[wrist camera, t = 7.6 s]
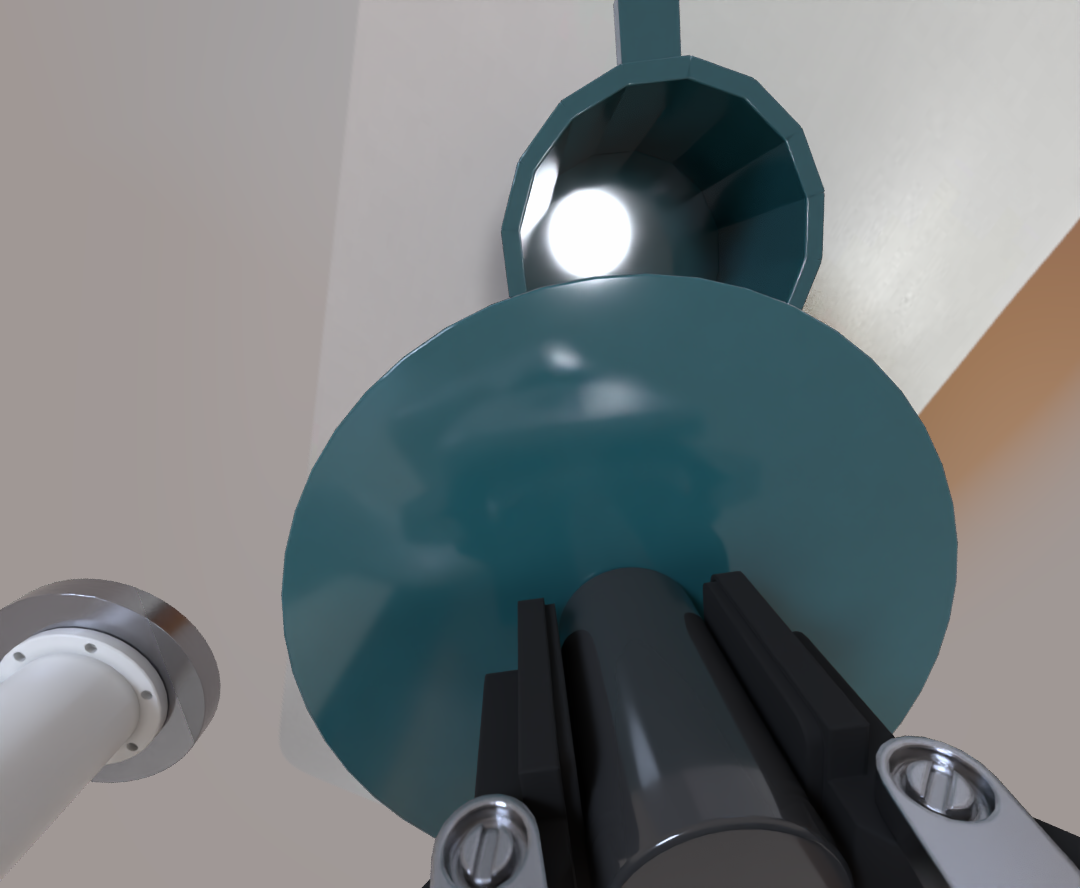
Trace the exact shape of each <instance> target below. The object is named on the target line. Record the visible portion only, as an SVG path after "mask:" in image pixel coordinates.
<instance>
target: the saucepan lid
mask: <svg viewBox="0 0 1080 888" xmlns="http://www.w3.org/2000/svg"><path fill="white" fill-rule="evenodd" d="M955 525H956V524H955V515H954V507H953V502H952V498H951V494H950V490H949V487H948V483H947V480H946V476H945V472H944V469H943V465H942V463H941V461H940V458H939V456H938V454H937V452H936V449H935V448H934V445H933V443H932V441H931V439H930V436H929V434H928V432H927V430H926V427H925V426H924V424H923V423H922V421H921V420H920V418H919V417H918V415H917V414H916V412H915V411H914V409H913V408H912V406H911V405H910V403H909V402H908V400H907V399H906V397H905V396H904V394H903V393H902V391H901V390H900V389H899V388H898V387H897V386H896V385H895V383H894V382H893V381H892V380H891V379H890V378H889V377H888V376H887V375H886V374H885V373H884V371H883V370H882V369H881V368H880V367H879V366H878V365H877V364H876V363H875V362H874V361H873V360H872V358H871V357H869V356H868V355H867V354H865V353H864V352H863V351H862V350H860V349H859V348H858V347H857V346H855V345H854V344H853V343H852V342H850V341H849V340H848V339H847V338H845V337H844V336H843V335H841V334H840V333H839V332H838V331H836V330H835V329H833V328H832V327H830V326H828V325H826V324H825V323H823V322H821V321H819V320H818V319H816V318H814V317H812V316H811V315H809V314H807V313H805V312H804V311H802V310H800V309H798V308H796V307H795V306H793V305H790V304H787V303H785V302H782V301H779V300H777V299H774V298H772V297H769V296H766V295H764V294H761V293H759V292H756V291H753V290H751V289H748V288H744V287H740V286H735V285H731V284H726V283H722V282H717V281H713V280H708V279H704V278H699V277H688V276H676V275H663V274H650V273H642V274H626V275H609V276H594V277H589V278H584V279H579V280H574V281H569V282H564V283H559V284H554V285H549V286H544V287H540V288H537V289H534V290H532V291H529V292H526V293H523V294H520V295H517V296H514V297H511V298H508V299H506V300H503V301H500V302H497V303H494V304H491V305H489V306H487V307H486V308H484V309H482V310H480V311H478V312H476V313H474V314H472V315H470V316H468V317H466V318H464V319H462V320H460V321H458V322H456V323H454V324H452V325H450V326H448V327H446V328H444V329H443V330H442V331H440V332H439V333H437V334H436V335H434V336H433V337H432V338H430V339H429V340H427V341H426V342H424V343H423V344H421V345H420V346H419V347H417V348H416V349H414V350H413V351H411V352H410V353H409V354H407V355H406V356H404V357H403V358H402V359H401V360H400V361H398V362H397V363H396V364H395V365H394V366H393V367H392V368H391V369H390V370H389V371H388V372H387V373H386V374H384V375H383V376H382V377H381V378H380V379H379V380H378V381H377V382H376V383H375V384H374V385H373V386H372V387H370V388H369V389H368V390H367V391H366V392H365V394H364V395H363V396H362V397H361V398H360V400H359V401H358V402H357V403H356V405H355V406H354V407H353V408H352V410H351V411H350V412H349V413H348V415H347V416H346V417H345V418H344V419H343V421H342V422H341V423H340V424H339V426H338V427H337V428H336V429H335V431H334V433H333V434H332V436H331V438H330V440H329V441H328V443H327V445H326V446H325V448H324V450H323V451H322V453H321V455H320V456H319V458H318V460H317V461H316V463H315V465H314V466H313V468H312V470H311V473H310V475H309V478H308V480H307V482H306V485H305V487H304V490H303V492H302V495H301V497H300V500H299V502H298V505H297V507H296V510H295V513H294V517H293V521H292V526H291V529H290V534H289V538H288V542H287V546H286V550H285V559H284V570H283V582H282V595H281V596H282V610H283V625H284V636H285V640H286V645H287V649H288V654H289V659H290V663H291V668H292V672H293V675H294V678H295V680H296V683H297V685H298V688H299V691H300V693H301V696H302V698H303V701H304V703H305V706H306V709H307V710H308V712H309V714H310V716H311V718H312V719H313V721H314V723H315V725H316V726H317V728H318V730H319V732H320V733H321V735H322V737H323V739H324V741H325V742H326V743H327V745H328V746H329V747H330V749H331V750H332V751H333V753H334V754H335V755H336V756H337V758H338V759H339V760H340V762H341V763H342V764H343V766H344V767H345V768H346V770H347V771H348V772H349V773H350V774H351V775H352V776H353V777H354V778H355V779H356V780H357V781H358V782H359V783H360V784H361V785H362V786H363V787H364V788H365V789H366V790H367V791H368V792H369V793H370V794H371V795H372V796H373V797H374V798H376V799H377V800H378V801H380V802H381V803H382V804H383V805H385V806H386V807H387V808H389V809H390V810H391V811H393V812H394V813H395V814H396V815H398V816H399V817H400V818H402V819H403V820H405V821H407V822H408V823H410V824H411V825H413V826H415V827H416V828H418V829H420V830H421V831H423V832H425V833H427V834H428V835H430V836H432V837H433V838H435V839H436V837H437V835H438V833H439V831H440V829H441V827H442V825H443V824H444V822H445V821H446V820H447V819H448V818H449V817H450V815H451V814H452V813H453V812H454V811H455V810H456V809H458V808H459V807H460V806H462V805H463V804H465V803H466V802H468V801H469V800H472V799H474V796H475V785H476V773H477V761H478V749H479V737H480V725H481V714H482V702H483V690H484V680H485V676H486V674H490V673H497V672H504V671H511V670H518V601H522V600H530V599H537V598H544V603H545V605H547V604H554V603H555V609H556V616H557V623H558V631H559V638H560V646H561V653H562V661H563V669H564V676H565V684H566V692H567V699H568V707H569V715H570V722H571V730H572V738H573V745H574V753H575V761H576V768H577V776H578V784H579V791H580V799H581V807H582V814H583V822H584V830H585V837H586V838H585V846H586V857H587V865H588V873H589V881H590V888H855V886H854V881H853V877H852V873H851V870H850V868H849V866H848V863H847V861H846V860H845V858H844V856H843V854H842V853H841V851H840V849H839V848H838V846H837V844H836V843H835V841H834V839H833V838H832V836H831V834H830V833H829V831H828V829H827V828H826V826H825V824H824V822H823V821H822V819H821V817H820V816H819V814H818V812H817V811H816V809H815V807H814V806H813V804H812V802H811V801H810V799H809V797H808V796H807V794H806V792H805V790H804V789H803V787H802V785H801V784H800V782H799V780H798V779H797V777H796V775H795V774H794V772H793V770H792V769H791V767H790V765H789V764H788V762H787V760H786V758H785V757H784V755H783V753H782V752H781V750H780V748H779V747H778V745H777V743H776V742H775V740H774V738H773V737H772V735H771V733H770V732H769V730H768V728H767V726H766V725H765V723H764V721H763V720H762V718H761V716H760V715H759V713H758V711H757V710H756V708H755V706H754V705H753V703H752V701H751V699H750V698H749V696H748V694H747V693H746V691H745V689H744V688H743V686H742V684H741V683H740V681H739V679H738V678H737V676H736V674H735V673H734V671H733V669H732V667H731V666H730V664H729V662H728V661H727V659H726V657H725V656H724V654H723V652H722V651H721V649H720V647H719V646H718V644H717V642H716V641H715V639H714V637H713V635H712V634H711V632H710V630H709V629H708V627H707V625H706V624H705V622H704V608H703V584H704V583H707V582H710V580H711V576H712V575H713V574H720V573H727V572H734V571H741V572H742V573H743V574H744V575H745V576H746V577H747V579H748V580H749V581H750V582H751V583H752V585H753V586H754V587H755V588H756V589H757V590H758V592H759V593H760V594H761V595H762V596H763V598H764V599H765V600H766V601H767V602H768V604H769V605H770V606H771V607H772V608H773V609H774V611H775V612H776V613H777V614H778V615H779V617H780V618H781V619H782V620H783V621H784V623H785V624H786V625H787V626H788V627H789V628H790V630H791V631H792V632H794V631H799V632H802V633H803V634H804V635H805V636H807V637H808V638H809V639H810V641H811V642H812V643H813V644H814V645H815V646H816V647H817V649H818V650H819V651H820V652H821V653H822V654H823V655H824V657H825V658H826V659H827V660H828V661H829V662H830V663H831V665H832V666H833V667H834V668H835V669H836V670H837V672H838V673H839V674H840V675H841V676H842V677H843V678H844V680H845V681H846V682H847V683H848V684H849V685H850V686H851V688H852V689H853V690H854V691H855V692H856V693H857V694H858V696H859V697H860V698H861V699H862V700H863V701H864V702H865V704H866V705H867V706H868V707H869V708H870V709H871V710H872V712H873V713H874V714H875V715H876V716H877V717H878V718H879V720H880V721H881V722H882V723H883V724H884V725H885V726H886V728H887V729H888V730H889V731H890V732H891V733H892V734H893V733H894V732H895V730H896V729H897V728H898V727H899V725H900V724H901V723H902V721H903V720H904V718H905V716H906V715H907V713H908V712H909V710H910V709H911V707H912V705H913V704H914V702H915V701H916V699H917V697H918V696H919V694H920V693H921V691H922V689H923V687H924V685H925V683H926V681H927V678H928V676H929V674H930V672H931V670H932V668H933V666H934V664H935V661H936V659H937V657H938V655H939V651H940V648H941V645H942V642H943V639H944V636H945V632H946V630H947V626H948V623H949V620H950V615H951V609H952V604H953V598H954V592H955V587H956V578H957V575H956V574H957V548H958V541H957V533H956V526H955Z"/></svg>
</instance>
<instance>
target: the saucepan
mask: <svg viewBox="0 0 1080 888" xmlns="http://www.w3.org/2000/svg"><path fill="white" fill-rule="evenodd" d="M613 8H614V24H615V40H616V56H617V66H616V67H615V68H613V69H611V70H610V71H608V72H606V73H605V74H603V75H602V76H600V77H598V78H597V79H595V80H594V81H592V82H590V83H589V84H587V85H586V86H584V87H582V88H581V89H579V90H577V91H576V92H574V93H573V94H571V95H569V96H568V97H566V98H565V99H563V100H561V103H559V104H558V105H557V107H556V108H555V109H554V111H553V112H552V114H551V115H550V117H549V118H548V119H547V121H546V122H545V124H544V125H543V126H542V128H541V129H540V131H539V132H538V133H537V135H536V136H535V138H534V139H533V141H532V142H531V143H530V145H529V146H528V148H527V149H526V150H525V152H524V153H523V155H522V156H521V157H520V159H519V162H518V163H517V167H516V171H515V175H514V179H513V183H512V187H511V191H510V195H509V199H508V203H507V207H506V211H505V215H504V219H503V223H502V228H501V236H502V244H503V252H504V260H505V268H506V276H507V283H508V291H509V297H510V298H511V297H514V296H517V295H520V294H523V293H526V292H529V291H532V290H534V289H537V288H540V287H544V286H549V285H554V284H559V283H564V282H569V281H574V280H579V279H584V278H589V277H594V276H609V275H626V274H642V273H650V274H663V275H676V276H688V277H699V278H704V279H708V280H713V281H717V282H722V283H726V284H731V285H735V286H740V287H744V288H748V289H751V290H753V291H756V292H759V293H761V294H764V295H766V296H769V297H772V298H774V299H777V300H779V301H782V302H785V303H787V304H790V305H793V306H795V307H796V308H798V309H800V310H802V308H803V306H804V304H805V301H806V299H807V296H808V294H809V291H810V289H811V286H812V284H813V281H814V279H815V276H816V274H817V271H818V269H819V267H820V264H821V259H822V251H823V222H824V193H823V192H824V191H825V190H824V187H823V185H822V182H821V179H820V176H819V174H818V171H817V168H816V165H815V162H814V160H813V157H812V154H811V151H810V148H809V146H808V143H807V140H806V137H805V134H804V132H803V129H802V128H801V126H800V125H799V124H798V123H797V122H796V121H795V120H794V119H793V118H792V117H791V116H790V115H789V114H788V113H787V111H786V110H785V109H784V108H783V107H782V106H781V105H780V104H779V103H778V102H777V101H776V100H775V99H774V98H773V97H772V96H771V95H770V94H769V93H768V92H767V91H766V90H765V89H764V88H763V86H762V85H761V84H760V83H759V82H758V81H757V80H755V79H754V78H752V77H750V76H747V75H744V74H741V73H739V72H736V71H733V70H730V69H728V68H725V67H722V66H719V65H717V64H714V63H711V62H708V61H706V60H703V59H700V58H697V57H694V56H690V55H687V56H681V40H680V10H679V0H615V1H614V4H613Z"/></svg>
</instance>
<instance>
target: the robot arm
mask: <svg viewBox="0 0 1080 888" xmlns="http://www.w3.org/2000/svg"><path fill="white" fill-rule="evenodd" d="M703 608H704V622H705V624H706V625H707V627H708V629H709V630H710V632H711V634H712V635H713V637H714V639H715V641H716V642H717V644H718V646H719V647H720V649H721V651H722V652H723V654H724V656H725V657H726V659H727V661H728V662H729V664H730V666H731V667H732V669H733V671H734V673H735V674H736V676H737V678H738V679H739V681H740V683H741V684H742V686H743V688H744V689H745V691H746V693H747V694H748V696H749V698H750V699H751V701H752V703H753V705H754V706H755V708H756V710H757V711H758V713H759V715H760V716H761V718H762V720H763V721H764V723H765V725H766V726H767V728H768V730H769V732H770V733H771V735H772V737H773V738H774V740H775V742H776V743H777V745H778V747H779V748H780V750H781V752H782V753H783V755H784V757H785V758H786V760H787V762H788V764H789V765H790V767H791V769H792V770H793V772H794V774H795V775H796V777H797V779H798V780H799V782H800V784H801V785H802V787H803V789H804V790H805V792H806V794H807V796H808V797H809V799H810V801H811V802H812V804H813V806H814V807H815V809H816V811H817V812H818V814H819V816H820V817H821V819H822V821H823V822H824V824H825V826H826V828H827V829H828V831H829V833H830V834H831V836H832V838H833V839H834V841H835V843H836V844H837V846H838V848H839V849H840V851H841V853H842V854H843V856H844V858H845V860H846V861H847V863H848V866H849V868H850V870H851V873H852V877H853V881H854V886H855V888H1080V837H1078V836H1076V835H1074V834H1071V833H1069V832H1067V831H1064V830H1062V829H1060V828H1057V827H1055V826H1052V825H1050V824H1048V823H1045V822H1043V821H1041V820H1038V819H1036V818H1033V817H1032V816H1031V815H1030V814H1029V813H1028V812H1027V811H1026V809H1025V808H1024V807H1023V806H1022V805H1021V804H1020V803H1019V802H1018V800H1017V799H1016V798H1015V797H1014V796H1013V795H1012V794H1011V793H1010V791H1009V790H1008V789H1007V788H1006V787H1005V786H1004V785H1003V784H1002V782H1000V780H999V779H998V778H997V777H996V776H995V775H994V774H993V773H992V772H991V771H989V770H988V769H987V768H986V767H985V766H984V765H983V764H982V763H981V762H979V761H978V760H976V759H974V758H973V757H971V756H970V755H968V754H967V753H965V752H963V751H962V750H960V749H957V748H955V747H953V746H950V745H948V744H946V743H944V742H941V741H937V740H933V739H929V738H926V737H918V736H902V737H896V738H895V737H894V736H893V734H892V733H891V732H890V731H889V730H888V729H887V728H886V726H885V725H884V724H883V723H882V722H881V721H880V720H879V718H878V717H877V716H876V715H875V714H874V713H873V712H872V710H871V709H870V708H869V707H868V706H867V705H866V704H865V702H864V701H863V700H862V699H861V698H860V697H859V696H858V694H857V693H856V692H855V691H854V690H853V689H852V688H851V686H850V685H849V684H848V683H847V682H846V681H845V680H844V678H843V677H842V676H841V675H840V674H839V673H838V672H837V670H836V669H835V668H834V667H833V666H832V665H831V663H830V662H829V661H828V660H827V659H826V658H825V657H824V655H823V654H822V653H821V652H820V651H819V650H818V649H817V647H816V646H815V645H814V644H813V643H812V642H811V641H810V639H809V638H808V637H807V636H805V635H804V634H803V633H802V632H799V631H794V632H792V631H791V630H790V628H789V627H788V626H787V625H786V624H785V623H784V621H783V620H782V619H781V618H780V617H779V615H778V614H777V613H776V612H775V611H774V609H773V608H772V607H771V606H770V605H769V604H768V602H767V601H766V600H765V599H764V598H763V596H762V595H761V594H760V593H759V592H758V590H757V589H756V588H755V587H754V586H753V585H752V583H751V582H750V581H749V580H748V579H747V577H746V576H745V575H744V574H743V573H742V572H741V571H734V572H727V573H720V574H713V575H712V576H711V580H710V582H707V583H704V584H703ZM167 710H168V700H167V693H166V690H165V687H164V684H163V682H162V680H161V678H160V676H159V674H158V673H157V671H156V669H155V668H154V667H153V666H152V665H151V663H150V662H149V661H148V660H147V659H146V658H145V657H144V656H143V655H141V654H140V653H139V652H138V651H137V650H136V649H134V648H133V647H131V646H129V645H128V644H126V643H125V642H123V641H121V640H119V639H117V638H114V637H112V636H110V635H108V634H104V633H101V632H97V631H93V630H89V629H81V628H57V629H52V630H47V631H43V632H40V633H38V634H36V635H33V636H31V637H29V638H28V639H26V640H25V641H23V642H22V643H20V644H19V645H17V646H15V647H14V648H13V649H12V650H11V651H10V652H9V653H7V654H6V655H5V656H4V658H3V659H2V661H1V662H0V881H1V880H2V879H3V878H4V877H5V875H6V874H7V873H8V872H9V871H10V869H12V867H13V866H14V865H15V864H16V863H17V862H18V861H19V860H20V859H21V858H22V856H23V855H24V854H25V853H26V852H27V851H28V850H29V849H30V848H31V846H32V845H33V844H34V843H35V842H36V841H37V840H38V839H39V838H40V836H41V835H42V834H43V833H44V832H45V831H46V830H47V829H48V828H49V826H50V825H51V824H52V823H53V822H54V821H55V820H56V819H57V818H58V816H59V815H60V814H61V813H62V812H63V811H64V810H65V809H66V807H67V806H68V805H69V804H70V803H71V802H72V801H73V800H74V799H75V798H76V796H77V795H78V794H79V793H80V792H81V791H82V790H83V789H84V787H85V786H86V785H87V784H88V783H89V782H90V781H91V780H92V779H93V777H94V776H95V775H96V774H97V773H98V772H99V771H100V770H101V769H102V767H103V766H104V765H107V764H112V763H117V762H121V761H124V760H126V759H129V758H131V757H133V756H135V755H136V754H138V753H139V752H141V751H143V750H144V749H145V748H146V747H147V746H148V745H149V744H150V743H151V742H152V740H153V739H154V738H155V737H156V735H157V734H158V733H159V732H160V730H161V729H162V727H163V724H164V722H165V720H166V716H167ZM585 838H586V837H585V830H584V822H583V814H582V807H581V799H580V791H579V784H578V776H577V768H576V761H575V753H574V745H573V738H572V730H571V722H570V715H569V707H568V699H567V692H566V684H565V676H564V669H563V661H562V653H561V646H560V638H559V631H558V623H557V616H556V609H555V603H554V604H547V605H545V603H544V598H537V599H530V600H522V601H518V670H511V671H504V672H497V673H490V674H486V676H485V680H484V690H483V702H482V714H481V725H480V737H479V749H478V761H477V773H476V785H475V796H474V799H472V800H469V801H468V802H466V803H465V804H463V805H462V806H460V807H459V808H458V809H456V810H455V811H454V812H453V813H452V814H451V815H450V817H449V818H448V819H447V820H446V821H445V822H444V824H443V825H442V827H441V829H440V831H439V833H438V835H437V837H436V839H435V843H434V848H433V853H432V859H431V876H430V880H429V881H428V882H427V883H426V884H425V885H424V886H423V887H422V888H590V881H589V873H588V865H587V857H586V846H585Z"/></svg>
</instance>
